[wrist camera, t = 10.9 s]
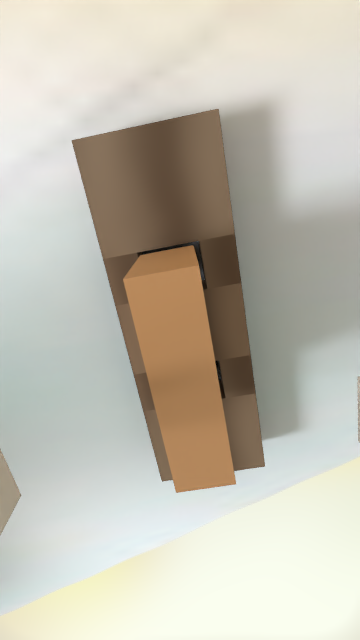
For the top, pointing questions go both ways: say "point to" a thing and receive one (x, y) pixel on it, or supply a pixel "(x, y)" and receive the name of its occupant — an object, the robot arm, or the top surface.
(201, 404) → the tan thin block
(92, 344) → the top surface
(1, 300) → the top surface
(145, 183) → the rail
